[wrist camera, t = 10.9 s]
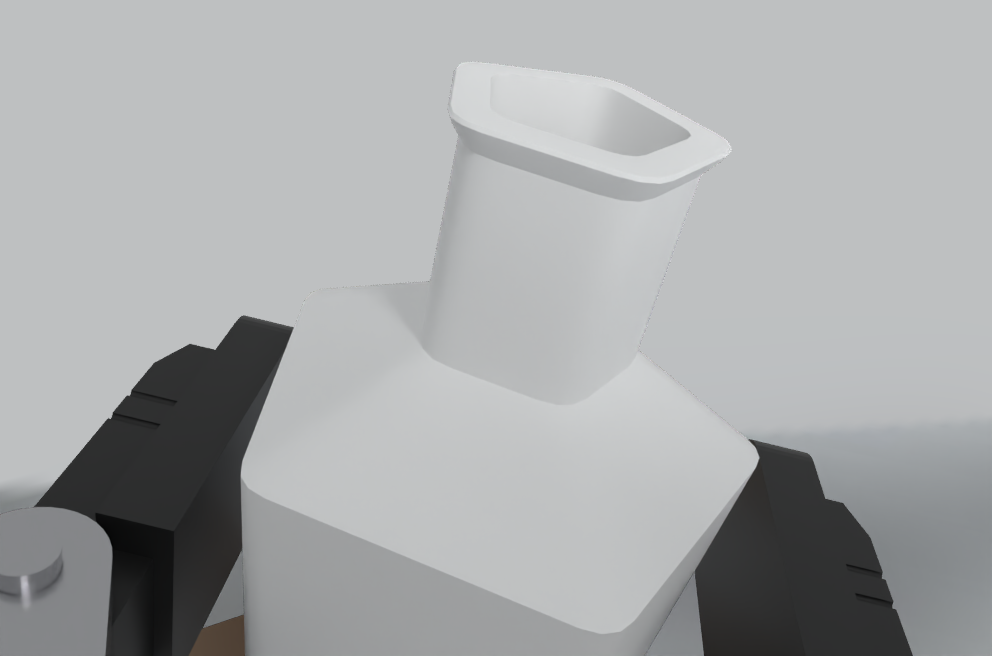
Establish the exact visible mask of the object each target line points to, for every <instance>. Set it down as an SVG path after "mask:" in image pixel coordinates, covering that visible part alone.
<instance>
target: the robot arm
mask: <svg viewBox="0 0 992 656" xmlns="http://www.w3.org/2000/svg"><path fill="white" fill-rule="evenodd" d="M293 329H294V327H289V326H285V325H281V324H277V323H273V322H269V321H265V320H261V319H257V318H252V317H248V316H241V317H240V318H239V319H238V320H237V321H236V323H235V324H234V325H233V327H232V328H231V329H230V331H229V332H228V334H227V335H226V336H225V338H224V339H223V340H222V342H221V343H220V344H219V346H218V347H217V348H216V350H213V349H209V348H205V347H200V346H197V345H192V344H189V345H187V346H185V347H183V348H181V349H180V350H178V351H176V352H174V353H172V354H170V355H169V356H166V357H165V358H163V359H161V360H159V361H157V362H155V363H154V364H153V365H152V367H151V368H150V369H149V370H148V371H147V372H146V373H145V375H144V376H143V377H142V378H141V379H140V381H139V382H138V383H137V384H136V385H135V387H134V388H133V389H132V391H131V395H130V396H126V397H125V399H124V400H123V401H122V402H121V404H120V405H119V406H118V407H117V408H116V409H115V411H114V412H113V415H112V418H111V419H107V420H106V421H105V423H104V424H103V425H102V426H101V427H100V429H99V430H98V431H97V432H96V434H95V435H94V436H93V437H92V438H91V440H90V441H89V442H88V443H87V444H86V445H85V447H84V448H83V449H82V450H81V451H80V453H79V454H78V455H77V456H76V458H75V459H74V460H73V461H72V463H70V465H69V466H68V467H67V468H66V470H65V471H64V472H63V473H62V474H61V476H60V477H59V478H58V479H57V480H56V481H55V483H54V484H53V485H52V486H51V487H50V489H49V490H48V491H47V492H46V493H45V495H44V496H43V497H42V498H41V499H40V501H39V502H38V503H37V504H36V505H35V506H34V507H33V508H24V509H18V510H14V511H9V512H6V513H3V514H0V656H189V654H190V652H191V650H192V648H193V646H194V644H195V642H196V640H197V638H198V636H199V634H200V632H201V630H202V628H203V626H204V624H205V622H206V620H207V618H208V616H209V614H210V612H211V610H212V608H213V606H214V604H215V602H216V600H217V598H218V596H219V594H220V592H221V590H222V588H223V586H224V584H225V582H226V580H227V578H228V576H229V574H230V572H231V570H232V568H233V566H234V564H235V562H236V560H237V558H238V556H239V554H240V552H241V550H242V511H241V468H242V461H243V458H244V455H245V453H246V450H247V448H248V445H249V442H250V440H251V437H252V435H253V432H254V430H255V427H256V424H257V422H258V419H259V417H260V414H261V411H262V409H263V406H264V404H265V401H266V398H267V396H268V393H269V391H270V388H271V386H272V383H273V380H274V378H275V375H276V373H277V370H278V367H279V365H280V362H281V360H282V357H283V354H284V352H285V349H286V347H287V344H288V342H289V339H290V336H291V334H292V331H293ZM749 441H750V442H751V443H752V444H753V445H754V447H755V448H756V450H757V453H758V455H759V460H758V463H757V466H756V468H755V470H754V471H753V473H752V475H751V476H750V478H749V480H748V482H747V483H746V485H745V487H744V488H743V490H742V492H741V493H740V495H739V497H738V498H737V500H736V502H735V504H734V505H733V507H732V509H731V510H730V512H729V514H728V515H727V517H726V519H725V520H724V522H723V524H722V526H721V527H720V529H719V531H718V532H717V534H716V536H715V537H714V539H713V541H712V542H711V544H710V546H709V548H708V549H707V551H706V553H705V554H704V556H703V558H702V559H701V561H700V563H699V564H698V566H697V568H696V570H695V579H696V587H697V596H698V605H699V614H700V623H701V632H702V641H703V650H704V656H913V655H912V652H911V649H910V647H909V644H908V641H907V638H906V636H905V633H904V630H903V627H902V625H901V622H900V619H899V616H898V613H897V611H896V610H895V609H892V604H893V600H892V597H891V594H890V591H889V589H888V586H887V583H886V580H884V579H882V573H883V572H882V569H881V566H880V564H879V561H878V558H877V555H876V553H875V550H874V547H873V544H872V541H871V539H870V537H869V535H868V534H867V533H866V532H865V530H864V529H863V528H862V527H861V525H860V524H859V523H858V522H857V520H856V519H855V518H854V517H853V515H852V514H851V513H850V512H849V510H848V509H847V508H846V507H845V505H844V504H843V503H840V502H836V501H832V500H828V499H825V497H824V494H823V490H822V487H821V484H820V481H819V478H818V475H817V471H816V468H815V465H814V462H813V460H812V458H811V456H810V455H809V454H808V453H804V452H800V451H796V450H792V449H788V448H783V447H779V446H775V445H771V444H767V443H763V442H759V441H755V440H750V439H749Z"/></svg>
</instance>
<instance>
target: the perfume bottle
mask: <svg viewBox="0 0 992 656" xmlns="http://www.w3.org/2000/svg"><path fill="white" fill-rule="evenodd" d="M448 112H449V115H450V118H451V121H452V124H453V126H454V128H455V129H456V131H457V133H458V140H457V145H456V151H455V156H454V161H453V166H452V171H451V176H450V182H449V187H448V192H447V197H446V202H445V207H444V212H443V217H442V223H441V228H440V233H439V238H438V243H437V248H436V253H435V258H434V263H433V269H432V274H431V279H430V281H428V282H413V283H399V284H385V285H371V286H357V287H343V288H330V289H319V290H317V291H314V292H312V293H310V294H309V295H308V297H307V298H306V299H305V300H304V303H303V305H302V308H301V310H300V313H299V316H298V318H297V321H296V323H295V326H294V329H293V331H292V334H291V336H290V339H289V342H288V344H287V347H286V349H285V352H284V354H283V357H282V360H281V362H280V365H279V367H278V370H277V373H276V375H275V378H274V380H273V383H272V386H271V388H270V391H269V393H268V396H267V398H266V401H265V404H264V406H263V409H262V411H261V414H260V417H259V419H258V422H257V424H256V427H255V430H254V432H253V435H252V437H251V440H250V442H249V445H248V448H247V450H246V453H245V455H244V458H243V461H242V468H241V511H242V552H243V594H244V635H245V656H645V654H646V652H647V651H648V649H649V647H650V646H651V644H652V642H653V641H654V639H655V637H656V636H657V634H658V632H659V630H660V629H661V627H662V625H663V624H664V622H665V620H666V619H667V617H668V615H669V614H670V612H671V610H672V608H673V607H674V605H675V603H676V602H677V600H678V598H679V597H680V595H681V593H682V592H683V590H684V588H685V586H686V585H687V583H688V581H689V580H690V578H691V576H692V575H693V573H694V571H695V570H696V568H697V566H698V564H699V563H700V561H701V559H702V558H703V556H704V554H705V553H706V551H707V549H708V548H709V546H710V544H711V542H712V541H713V539H714V537H715V536H716V534H717V532H718V531H719V529H720V527H721V526H722V524H723V522H724V520H725V519H726V517H727V515H728V514H729V512H730V510H731V509H732V507H733V505H734V504H735V502H736V500H737V498H738V497H739V495H740V493H741V492H742V490H743V488H744V487H745V485H746V483H747V482H748V480H749V478H750V476H751V475H752V473H753V471H754V470H755V468H756V466H757V463H758V460H759V455H758V453H757V450H756V448H755V447H754V445H753V444H752V443H751V442H750V441H749V440H748V439H747V438H746V437H745V436H743V435H742V434H741V433H740V432H739V431H737V430H736V429H735V428H734V427H732V426H731V425H730V424H729V423H727V422H726V421H725V420H724V419H723V418H721V417H720V416H719V415H718V414H716V413H715V412H714V411H713V410H712V409H710V408H709V407H708V406H707V405H705V404H704V403H703V402H702V401H701V400H699V399H698V398H697V397H696V396H694V395H693V394H692V393H691V392H689V391H688V390H687V389H686V388H684V387H683V386H682V385H681V384H680V383H679V382H677V381H676V380H675V379H674V378H672V377H671V376H670V375H669V374H667V373H666V372H665V371H664V370H663V369H661V368H660V367H659V366H658V365H656V364H655V363H654V362H653V361H651V360H650V359H649V358H648V357H647V356H645V355H644V354H643V353H642V352H641V351H639V350H638V349H639V347H640V344H641V341H642V338H643V335H644V333H645V330H646V327H647V324H648V321H649V319H650V316H651V313H652V310H653V308H654V305H655V302H656V299H657V296H658V294H659V291H660V288H661V285H662V283H663V280H664V277H665V274H666V272H667V269H668V266H669V263H670V260H671V258H672V255H673V252H674V249H675V246H676V244H677V241H678V238H679V235H680V233H681V230H682V227H683V224H684V221H685V219H686V216H687V213H688V210H689V207H690V204H691V202H692V199H693V197H694V194H695V191H696V188H697V185H698V183H699V180H700V177H701V175H702V174H703V173H705V172H706V171H708V170H709V169H711V168H712V167H714V166H715V165H717V164H718V163H720V162H721V161H722V160H723V159H724V158H725V157H727V156H728V154H729V153H730V152H731V151H732V150H731V145H730V144H729V142H728V141H727V140H726V139H725V138H723V137H721V136H720V135H718V134H717V133H715V132H713V131H712V130H710V129H708V128H706V127H704V126H702V125H700V124H698V123H697V122H695V121H693V120H691V119H689V118H687V117H685V116H683V115H682V114H680V113H678V112H676V111H674V110H672V109H671V108H669V107H667V106H665V105H663V104H661V103H659V102H658V101H656V100H654V99H652V98H650V97H648V96H646V95H644V94H643V93H641V92H639V91H637V90H635V89H633V88H631V87H629V86H626V85H624V84H622V83H619V82H616V81H613V80H609V79H606V78H600V77H595V76H588V75H581V74H573V73H565V72H557V71H549V70H541V69H533V68H525V67H517V66H509V65H501V64H493V63H484V62H465V63H460V64H459V66H458V67H457V68H456V69H455V70H454V73H453V79H452V85H451V91H450V97H449V103H448Z"/></svg>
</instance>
